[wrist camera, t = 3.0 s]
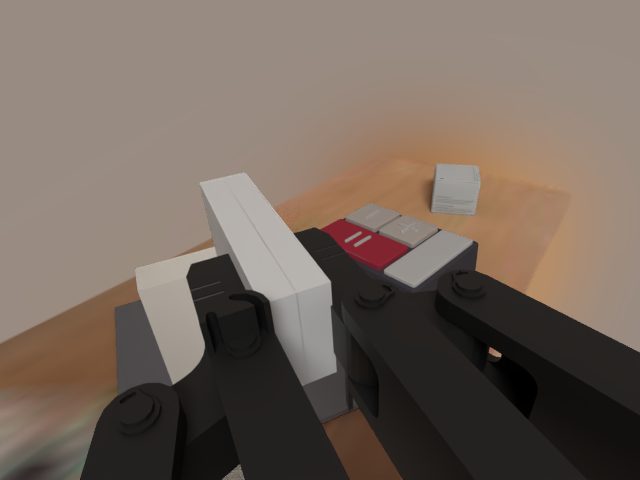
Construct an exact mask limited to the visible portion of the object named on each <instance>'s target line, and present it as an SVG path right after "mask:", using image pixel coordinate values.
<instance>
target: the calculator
mask: <svg viewBox="0 0 640 480" xmlns="http://www.w3.org/2000/svg"><path fill="white" fill-rule="evenodd" d="M320 230H322V231H324V232H326V233H328V234H330V235H331V236H332V237H333V238H334V240H335V241H336V242H337V243H338V245H340V246H341V247H342V248H343V249H344V250H345V253H348V255H349V256H350V257H351V258H352V259H353V260H354V261H355V262H356V263H357V264H358V265H359V266H360V267H361V268H362V270H363V271H364V272H365V273H366V274H367V275H368V276H369V277H370V278H371V279H380V280H383V281H386V282H389V283H391V284H393V285H394V286H395V287H397V288H398V289H399V290H400V291H401V292H402V293H413V292H423V291H433V290H436V289H437V282H438V279H439V278H440V277H441V276H442V275H443V274H445V273H447V272H450V271H452V270H462V269H464V270H472V271H475V268H476V260H477V251H478V243H477V242H475V241H473V240H471V239H469V238H466V237H463V236H460V235H457V234H454V233H451V232H449V231H446V230H441V229H438V226H436V225H433V224H430V223H427V222H424V221H421V220H418V219H416V218H413V217H410V216H407V215H403V216H401V215H400V213H398V212H395V211H393V210H390V209H387V208H384V207H381V206H378V205H375V204H372V203H370V204H368V205H366V206H364V207H362V208H360V209H358V210H356V211H354V212H352V213H351V214H349V215H347V216H346V217H345V219H340V220H337V221H336V222H334V223H332V224H330V225H328V226H326V227H324V228H322V229H320Z"/></svg>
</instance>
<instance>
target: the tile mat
mask: <svg viewBox="0 0 640 480" xmlns="http://www.w3.org/2000/svg"><path fill="white" fill-rule="evenodd" d="M115 321H116V346H117V371H118V395H120V394H122V393H123V392H125V391H126V390H128V389H130V388H132V387H135V386H138V385H141V384H144V383H162V384H165V385H168V386H172V385H173V383H172V381H171V378H170V375H169V373H168V370H167V367H166V365H165V362H164V360H163V357H162V354H161V352H160V349H159V346H158V344H157V341H156V338H155V336H154V333H153V330H152V328H151V325H150V322H149V320H148V317H147V314H146V312H145V309H144V306H143V304H142V301H141V300H139V301H136V302H132V303H129V304H126V305H122V306H119V307H116V308H115ZM336 369H337V372H335V373H333V374H330V375H328V376H325V377H323V378H321V379H318V380H316V381H313V382H311V383H308V384H306V385H303V386H302V387H303V389H304V391H305V393H306V395H307V397H308V399H309V400H310V402H311V404H312V406H313V408H314V410H315V412H316V414H317V416H318V418H319V420H320V422H321V424H323V423H325V422H327V421H330V420H332V419H334V418H336V417H339V416H341V415H343V414H345V413H348V412H350V411H352V410H354V409H357V408H359V407H358V405H357V404H356V402H355V400H354V399H353V409H352V410H350V411H349V409H348V406H347V403H346V388H345V370H344V368H343V366H342V365H341V363H340V362H339V360H338V359H337V357H336Z"/></svg>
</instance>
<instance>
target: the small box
mask: <svg viewBox="0 0 640 480" xmlns="http://www.w3.org/2000/svg"><path fill="white" fill-rule="evenodd" d="M480 184H481V181H480V174H479V168H478V166H471V165H453V164H436V167H435V174H434V181H433V189H432V199H431V212H432V213H442V214H455V215H469V216H474V215H475V211H476V206H477V200H478V194H479V189H480Z"/></svg>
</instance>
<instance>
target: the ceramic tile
mask: <svg viewBox="0 0 640 480" xmlns="http://www.w3.org/2000/svg"><path fill="white" fill-rule="evenodd" d="M214 257H217V254H216V251H215V247H212V248H208V249H204V250H201V251H197V252H193V253H190V254H186V255H182V256H179V257H175V258H171V259H168V260H164V261H160V262H157V263H153V264H149V265H145V266H142V267H138V268H135V273H136V281H137V290H138V293H139V296H140V299H141V301H142V304H143V306H144V309H145V312H146V314H147V317H148V320H149V322H150V325H151V328H152V330H153V333H154V336H155V338H156V341H157V344H158V346H159V349H160V352H161V354H162V357H163V360H164V362H165V365H166V367H167V370H168V373H169V375H170V378H171V381H172V383H173V384H175V383H176V382H178V381H179V380H181V379H182V378H184V377H185V376H186V375H188V374H189V373H190V372H191V371H192V370H193V369H194V368H195V367H196V366H197V365H198V364H199V362H200V360H201V358H202V356H203V354H204V350H205V342H204V339H203V335H202V332H201V329H200V325H199V320H198V317H197V313H196V310H195V306H194V303H193V299H192V296H191V292H190V289H189V286H188V282H187V279H186V276H187V273H188V271H189V268H190V265H191V264H193V263H196V262H200V261H203V260H207V259H210V258H214Z"/></svg>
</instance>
